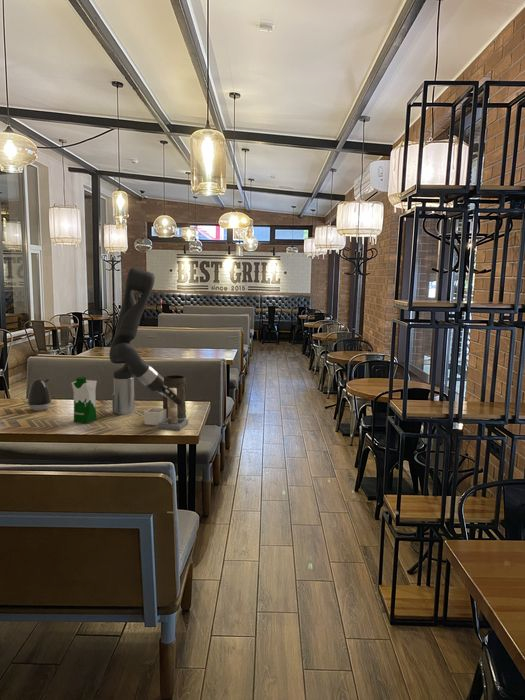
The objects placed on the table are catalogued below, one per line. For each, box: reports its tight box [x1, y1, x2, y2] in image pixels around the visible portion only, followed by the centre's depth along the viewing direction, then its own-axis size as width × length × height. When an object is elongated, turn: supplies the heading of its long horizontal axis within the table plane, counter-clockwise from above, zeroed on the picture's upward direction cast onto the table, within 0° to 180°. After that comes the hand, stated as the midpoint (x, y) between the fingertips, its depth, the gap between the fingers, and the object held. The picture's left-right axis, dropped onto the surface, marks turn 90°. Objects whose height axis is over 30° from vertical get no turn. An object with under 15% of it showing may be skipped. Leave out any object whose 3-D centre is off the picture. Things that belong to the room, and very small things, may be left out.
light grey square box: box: [143, 407, 166, 426], centre depth 213 cm, size 7×7×6 cm
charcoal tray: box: [157, 418, 189, 431], centre depth 209 cm, size 10×10×2 cm
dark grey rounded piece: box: [27, 378, 52, 412], centre depth 231 cm, size 10×10×15 cm
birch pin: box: [167, 388, 178, 425], centre depth 207 cm, size 4×4×16 cm
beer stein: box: [162, 374, 187, 419], centre depth 223 cm, size 15×11×20 cm
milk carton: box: [71, 376, 98, 424], centre depth 214 cm, size 9×9×20 cm
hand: (175, 401), depth 208 cm, fingers open, 8 cm apart
